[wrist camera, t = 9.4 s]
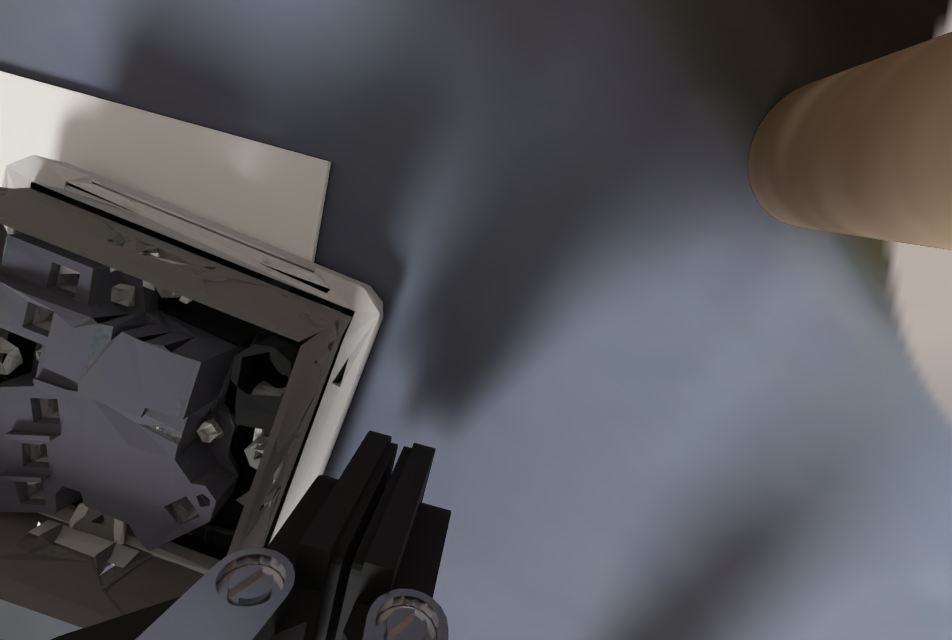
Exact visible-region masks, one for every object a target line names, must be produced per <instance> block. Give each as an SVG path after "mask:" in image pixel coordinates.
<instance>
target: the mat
mask: <svg viewBox="0 0 952 640" xmlns="http://www.w3.org/2000/svg"><path fill="white" fill-rule="evenodd" d="M32 155H36V156H40V157H44V158H48V159H52V160H57V161H61V162H66V163H68V164H71V165H73V166H76V167H78V168H81V169H83V170H86V171H88V172H91V173H93V174H96V175H98V176H100V177H103V178H105V179H108V180H110V181H113V182H115V183H118V184H120V185H123V186H125V187H128V188H130V189H133V190H135V191H138V192H140V193H143V194H145V195H147V196H150V197H152V198H155V199H157V200H160V201H162V202H165V203H167V204H170V205H172V206H175V207H177V208H180V209H182V210H185V211H187V212H190V213H192V214H194V215H197V216H199V217H202V218H204V219H207V220H209V221H212V222H214V223H217V224H219V225H222V226H224V227H227V228H229V229H232V230H234V231H237V232H239V233H241V234H244V235H246V236H249V237H251V238H254V239H256V240H259V241H261V242H264V243H266V244H269V245H271V246H274V247H276V248H279V249H281V250H283V251H286V252H288V253H291V254H293V255H296V256H298V257H301V258H303V259H306V260H308V261H311V262H313V263H314V260H315V254H316V248H317V242H318V236H319V230H320V225H321V219H322V213H323V207H324V201H325V195H326V190H327V184H328V178H329V172H330V166H331V162H329V161H326V160H322V159H319V158H315V157H311V156H308V155H304V154H300V153H297V152H293V151H290V150H286V149H282V148H279V147H275V146H271V145H268V144H264V143H260V142H257V141H253V140H250V139H246V138H242V137H239V136H235V135H231V134H228V133H224V132H221V131H217V130H213V129H210V128H206V127H202V126H199V125H195V124H192V123H188V122H184V121H181V120H177V119H173V118H170V117H166V116H163V115H159V114H155V113H152V112H148V111H144V110H141V109H137V108H134V107H130V106H126V105H123V104H119V103H115V102H112V101H108V100H104V99H101V98H97V97H94V96H90V95H86V94H83V93H79V92H75V91H72V90H68V89H65V88H61V87H57V86H54V85H50V84H46V83H43V82H39V81H36V80H32V79H28V78H25V77H21V76H17V75H14V74H10V73H7V72H3V71H0V187H2V183H3V179H4V174H5V169H6V166H7V165H9V164H11V163H14V162H16V161H19V160H21V159H24V158H26V157H29V156H32ZM270 360H271V361H272V363H273V365H274V366H275V368H276V369H277V371H278V372H279V373H280V374H282V375H286V374H285V372H284V371H283V369H282V368H281V366H280V365H279V363H278V362H277V361H276V359H275V358H274V356H273V355H272V353H271V352H270ZM39 525H40V523H39V521H38V525H37V526H39ZM112 565H114V564H112Z"/></svg>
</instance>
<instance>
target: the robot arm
mask: <svg viewBox="0 0 952 640" xmlns="http://www.w3.org/2000/svg"><path fill="white" fill-rule="evenodd" d="M397 448H398V444H394V443H391V436H388V435H384V434H381V433H377V432H373V431H369V432H368V433H367V435H366V437H365V438H364V440H363V441H362V443H361V445H360V446H359V448H358V449H357V451H356V453H355V454H354V456H353V457H352V459H351V461H350V462H349V464H348V465H347V467H346V469H345V470H344V472H343V473H342V475H341V477H340V478H339V480H338V479H334V478H331V477H327V476H324V475H319V476H318V477H317V478H316V479H315V480H314V482H313V483H312V484H311V486H310V487H309V489H308V490H307V491H306V493H305V494H304V496H303V497H302V499H301V500H300V501H299V503H298V504H297V506H296V507H295V508H294V510H293V511H292V513H291V514H290V516H289V517H288V518H287V520H286V521H285V523H284V524H283V525H282V527H281V528H280V530H279V531H278V533H277V534H276V535H275V537H274V538H273V540H272V541H271V542H270V544H269V545H268V547H267V548H250V549H244V550H239V551H237V552H235V553H232V554H230V555H227V556H226V557H225V558H223V559H222V560H220V561H219V562H218V563H216V564H215V565H214V566H213V567H212V568H211V569H210V570H209V571H208V572H207V573H206V574H205V575H204V576H203V577H201V578H200V579H199V580H198V581H197V582H196V583H195V584H194V585H193V586H192V587H191V588H190V589H189V590H188V591H187V592H186V593H184V594H183V595H182V596H180V597H177V598H174V599H171V600H168V601H165V602H162V603H159V604H156V605H153V606H150V607H147V608H144V609H141V610H138V611H135V612H132V613H128V614H125V615H122V616H119V617H116V618H113V619H110V620H107V621H104V622H101V623H98V624H95V625H92V626H89V627H86V628H83V629H80V630H77V631H73V632H70V633H67V634H64V635H61V636H58V637H56V638H54V639H51V640H448V623H447V617H446V615H445V613H444V612H443V610H442V608H441V606H440V605H439V604H438V603H437V602H436V601H435V600H434V599H433V593H434V589H435V584H436V580H437V575H438V570H439V566H440V561H441V556H442V552H443V547H444V543H445V538H446V533H447V529H448V524H449V520H450V515H451V511H450V510H446V509H443V508H439V507H436V506H432V505H428V504H425V503H422V500H423V496H424V492H425V488H426V484H427V480H428V477H429V473H430V469H431V465H432V461H433V457H434V453H435V448H432V447H428V446H424V445H421V444H417V443H414V444H413V447H412V448H409V447H405V446H404V448H403V450H402V452H401V454H400V456H399V459H398V461H397V463H396V465H395V468H394V470H393V472H392V469H393V465H394V461H395V457H396V452H397ZM0 640H2V639H0Z"/></svg>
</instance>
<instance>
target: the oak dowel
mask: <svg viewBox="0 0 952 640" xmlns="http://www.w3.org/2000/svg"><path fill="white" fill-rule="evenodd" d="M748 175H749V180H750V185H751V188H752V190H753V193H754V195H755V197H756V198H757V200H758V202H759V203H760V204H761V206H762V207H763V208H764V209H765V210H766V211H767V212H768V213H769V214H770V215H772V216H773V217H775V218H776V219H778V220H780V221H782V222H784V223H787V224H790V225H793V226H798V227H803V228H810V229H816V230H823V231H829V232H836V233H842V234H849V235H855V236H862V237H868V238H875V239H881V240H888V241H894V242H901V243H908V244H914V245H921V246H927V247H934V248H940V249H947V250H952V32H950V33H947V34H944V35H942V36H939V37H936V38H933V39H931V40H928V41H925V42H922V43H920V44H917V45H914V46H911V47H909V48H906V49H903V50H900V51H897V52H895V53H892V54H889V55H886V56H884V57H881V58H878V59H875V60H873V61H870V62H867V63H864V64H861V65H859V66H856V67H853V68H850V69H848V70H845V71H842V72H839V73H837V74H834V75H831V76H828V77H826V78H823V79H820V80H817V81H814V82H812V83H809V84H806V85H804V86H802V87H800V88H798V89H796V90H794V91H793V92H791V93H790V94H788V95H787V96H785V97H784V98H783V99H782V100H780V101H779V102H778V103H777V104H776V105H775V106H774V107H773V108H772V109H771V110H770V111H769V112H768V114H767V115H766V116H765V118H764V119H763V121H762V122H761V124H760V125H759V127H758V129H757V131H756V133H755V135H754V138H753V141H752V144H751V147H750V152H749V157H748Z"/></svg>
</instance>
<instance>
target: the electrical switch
mask: <svg viewBox="0 0 952 640" xmlns="http://www.w3.org/2000/svg"><path fill="white" fill-rule="evenodd" d="M382 319H383V302H382V300H381V299H380V298H379V297H378V295H377V294H376V293H375V291H374V290H373V289H372V288H371V286H370V285H368V284H365V283H363V282H360V281H358V280H355V279H353V278H350V277H348V276H345V275H343V274H340V273H338V272H335V271H333V270H330V269H328V268H326V267H323V266H321V265H318V264H316V263H313V262H311V261H308V260H306V259H303V258H301V257H298V256H296V255H293V254H291V253H288V252H286V251H283V250H281V249H279V248H276V247H274V246H271V245H269V244H266V243H264V242H261V241H259V240H256V239H254V238H251V237H249V236H246V235H244V234H241V233H239V232H237V231H234V230H232V229H229V228H227V227H224V226H222V225H219V224H217V223H214V222H212V221H209V220H207V219H204V218H202V217H199V216H197V215H194V214H192V213H190V212H187V211H185V210H182V209H180V208H177V207H175V206H172V205H170V204H167V203H165V202H162V201H160V200H157V199H155V198H152V197H150V196H147V195H145V194H143V193H140V192H138V191H135V190H133V189H130V188H128V187H125V186H123V185H120V184H118V183H115V182H113V181H110V180H108V179H105V178H103V177H100V176H98V175H96V174H93V173H91V172H88V171H86V170H83V169H81V168H78V167H76V166H73V165H71V164H68V163H66V162H61V161H57V160H52V159H48V158H44V157H40V156H36V155H32V156H29V157H26V158H24V159H21V160H19V161H16V162H14V163H11V164H9V165H7V166H6V169H5V174H4V179H3V183H2V187H0V599H2V600H5V601H8V602H11V603H13V604H16V605H19V606H22V607H25V608H28V609H31V610H33V611H36V612H39V613H42V614H45V615H48V616H51V617H53V618H56V619H59V620H62V621H65V622H68V623H70V624H73V625H76V626H79V627H82V628H86V627H89V626H92V625H95V624H98V623H101V622H104V621H107V620H110V619H113V618H116V617H119V616H122V615H125V614H128V613H132V612H135V611H138V610H141V609H144V608H147V607H150V606H153V605H156V604H159V603H162V602H165V601H168V600H171V599H174V598H177V597H180V596H182V595H183V594H184V593H186V592H187V591H188V590H189V589H190V588H191V587H192V586H193V585H194V584H195V583H196V582H197V581H198V580H199V579H200V578H201V577H203V576H204V575H205V574H206V573H207V572H208V571H209V570H210V569H211V568H212V567H213V566H214V565H215V564H216V563H218V562H219V561H220V560H222V559H223V558H225V557H226V556H227V555H230V554H232V553H235V552H237V551H239V550H244V549H250V548H267V547H268V545H269V544H270V542H271V541H272V540H273V538H274V537H275V535H276V534H277V533H278V531H279V530H280V528H281V527H282V525H283V524H284V523H285V521H286V520H287V518H288V517H289V516H290V514H291V513H292V511H293V510H294V508H295V507H296V506H297V504H298V503H299V501H300V500H301V499H302V497H303V496H304V494H305V493H306V491H307V490H308V489H309V487H310V486H311V484H312V483H313V482H314V480H315V479H316V478H317V477H318V476H319V475H323V474H324V471H325V468H326V466H327V463H328V461H329V458H330V455H331V453H332V450H333V447H334V445H335V442H336V440H337V437H338V434H339V432H340V429H341V427H342V424H343V421H344V419H345V416H346V413H347V411H348V408H349V406H350V403H351V400H352V398H353V395H354V393H355V390H356V387H357V385H358V382H359V380H360V377H361V374H362V372H363V369H364V366H365V364H366V361H367V359H368V356H369V353H370V351H371V348H372V346H373V343H374V340H375V338H376V335H377V332H378V330H379V327H380V325H381V322H382ZM270 352H271V353H272V355H273V356H274V358H275V359H276V361H277V362H278V363H279V365H280V366H281V368H282V369H283V371H284V372H285V374H286V375H282V374H280V373H279V372H278V371H277V369H276V368H275V366H274V365H273V363H272V361H271V360H270ZM38 521H39V523H40V525H39V526H37V525H38ZM15 543H16V544H15ZM13 544H14V545H13ZM111 564H114V565H115V566H114V567H112V568H111V569H109V570H108V571H106V572H105V573H103V574H102V575H100V574H101V573H102V572H103V570H104V569H105V568H106V567H107V566H109V565H111ZM99 575H100V576H99ZM110 584H111V585H110Z"/></svg>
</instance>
